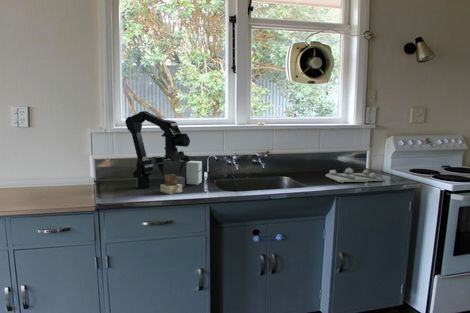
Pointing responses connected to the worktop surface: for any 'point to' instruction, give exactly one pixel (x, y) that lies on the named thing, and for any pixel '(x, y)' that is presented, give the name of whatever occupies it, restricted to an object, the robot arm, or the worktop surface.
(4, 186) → the worktop surface
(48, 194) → the worktop surface
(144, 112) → the robot arm
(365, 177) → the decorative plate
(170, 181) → the walnut cube
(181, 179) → the gray cube
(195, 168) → the supplement box
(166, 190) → the birch block
